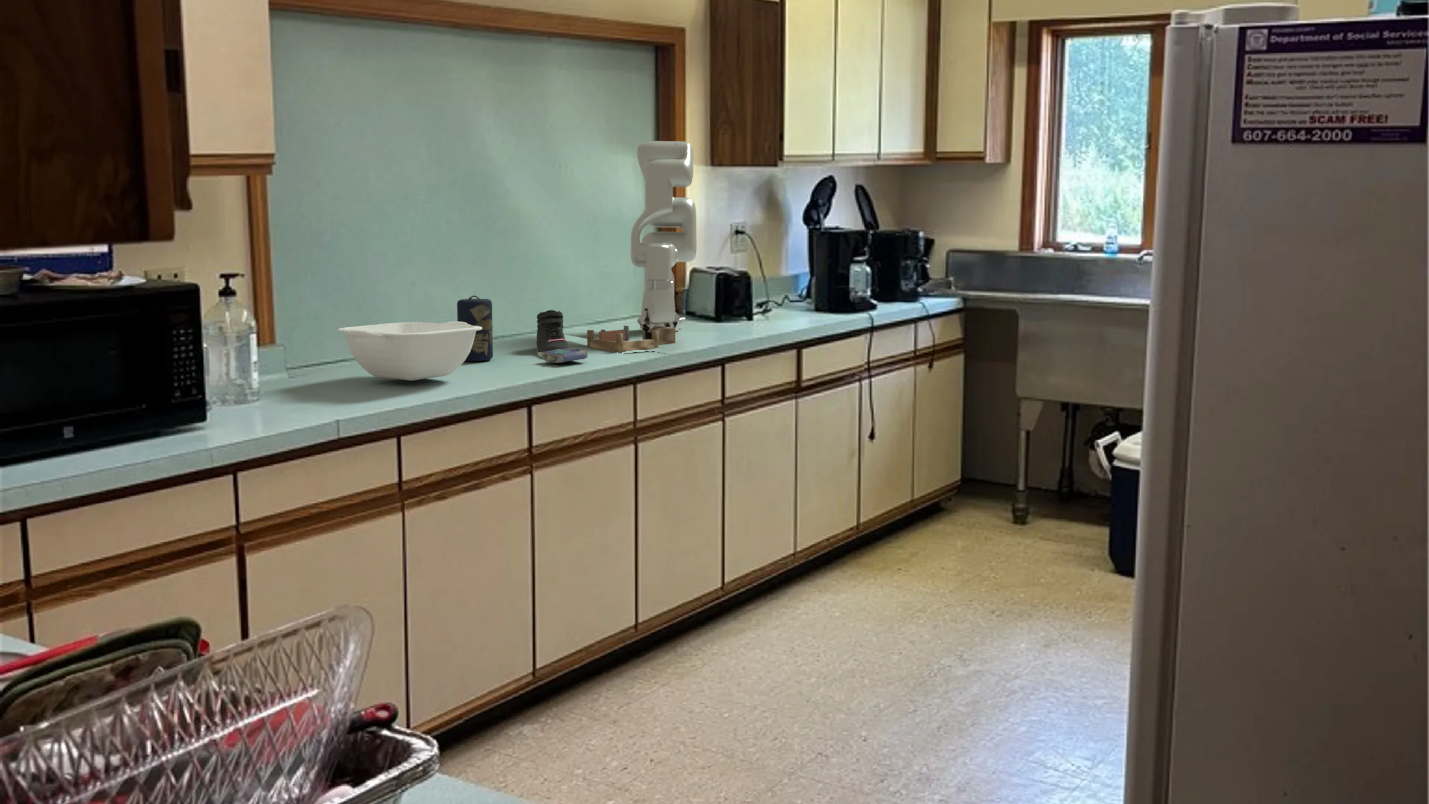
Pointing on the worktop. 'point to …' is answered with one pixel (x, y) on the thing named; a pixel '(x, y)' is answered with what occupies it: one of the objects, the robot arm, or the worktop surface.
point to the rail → (614, 334)
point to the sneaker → (550, 332)
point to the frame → (622, 343)
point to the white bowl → (411, 348)
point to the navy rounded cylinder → (478, 315)
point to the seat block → (664, 335)
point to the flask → (564, 355)
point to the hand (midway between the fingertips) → (659, 344)
